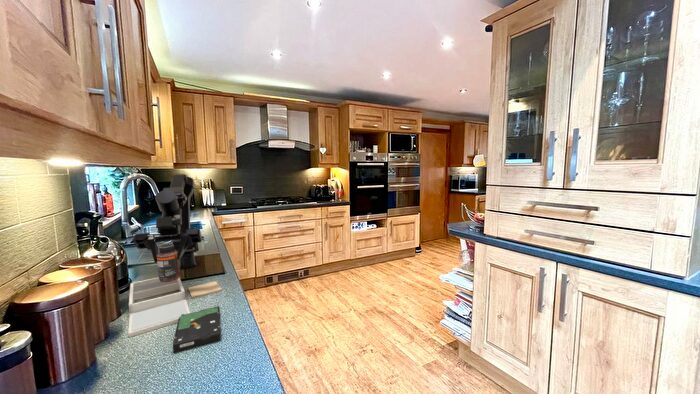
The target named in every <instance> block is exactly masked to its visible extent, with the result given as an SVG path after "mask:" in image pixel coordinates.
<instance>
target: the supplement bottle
mask: <svg viewBox="0 0 700 394" xmlns="http://www.w3.org/2000/svg"><path fill="white" fill-rule="evenodd" d="M156 264H157V271H158V277H159V281H161V282H170V281H174V280H176V279H178V278H179V277H180V278H181V269H180V265H179V264H180V262H179V260H178V251H176V250H174V245H173V243H168V244H163V245H160V246H159V247H158V254H157V263H156Z"/></svg>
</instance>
